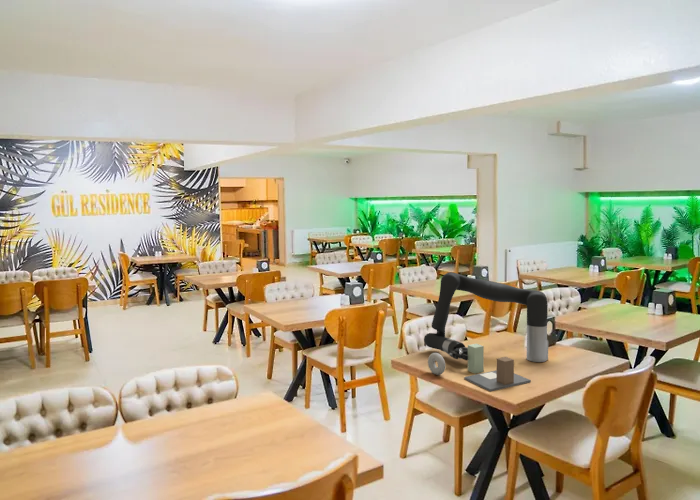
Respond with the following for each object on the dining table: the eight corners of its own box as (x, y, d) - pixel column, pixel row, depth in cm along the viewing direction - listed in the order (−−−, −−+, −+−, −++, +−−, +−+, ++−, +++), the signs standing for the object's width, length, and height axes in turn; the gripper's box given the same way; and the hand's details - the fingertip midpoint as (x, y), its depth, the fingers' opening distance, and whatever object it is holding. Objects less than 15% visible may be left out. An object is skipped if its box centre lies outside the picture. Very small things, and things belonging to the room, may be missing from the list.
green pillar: (476, 368, 248) (476, 343, 247) (483, 371, 243) (483, 346, 242) (467, 370, 246) (467, 345, 244) (474, 373, 241) (474, 347, 240)
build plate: (503, 370, 244) (503, 347, 243) (530, 382, 228) (531, 357, 227) (464, 379, 234) (464, 354, 233) (490, 391, 219) (490, 365, 218)
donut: (447, 376, 238) (447, 354, 237) (441, 378, 236) (441, 356, 235) (431, 370, 246) (431, 349, 245) (426, 372, 244) (426, 351, 243)
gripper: (441, 342, 255) (462, 351, 241) (465, 338, 261) (487, 346, 247) (441, 357, 256) (462, 367, 242) (465, 353, 262) (487, 362, 248)
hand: (475, 356), depth 244 cm, fingers open, 8 cm apart
